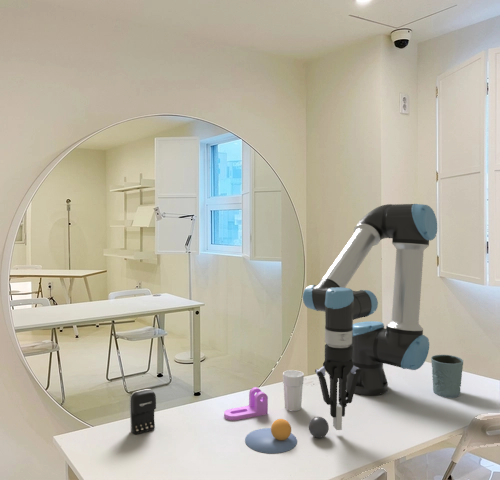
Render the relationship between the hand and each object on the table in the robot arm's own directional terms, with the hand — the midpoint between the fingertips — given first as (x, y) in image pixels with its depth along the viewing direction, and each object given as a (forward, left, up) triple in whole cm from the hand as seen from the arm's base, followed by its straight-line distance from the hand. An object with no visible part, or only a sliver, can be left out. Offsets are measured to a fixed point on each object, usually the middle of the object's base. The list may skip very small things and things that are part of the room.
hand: (337, 427), depth 134 cm
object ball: (0, -16, +1) cm, 16 cm away
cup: (-20, -7, -2) cm, 21 cm away
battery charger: (-12, -53, -2) cm, 54 cm away
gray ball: (0, -6, +1) cm, 6 cm away
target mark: (0, -19, -2) cm, 19 cm away
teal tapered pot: (-22, +48, -2) cm, 53 cm away
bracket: (-18, -23, -2) cm, 29 cm away
